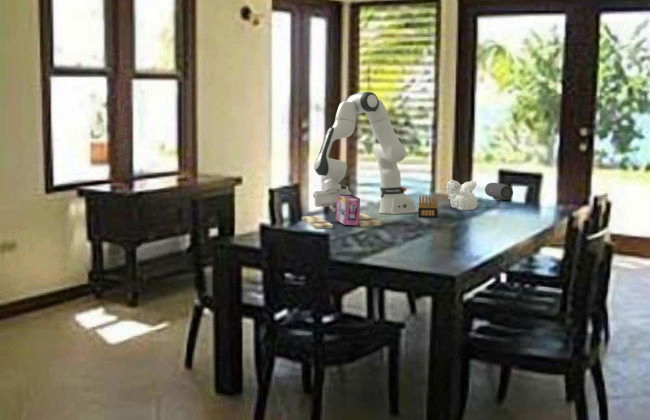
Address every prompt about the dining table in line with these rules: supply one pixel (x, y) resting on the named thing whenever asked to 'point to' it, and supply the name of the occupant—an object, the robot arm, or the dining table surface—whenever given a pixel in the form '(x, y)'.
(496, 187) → the bluetooth speaker
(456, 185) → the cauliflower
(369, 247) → the dining table surface
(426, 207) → the ammunition clip
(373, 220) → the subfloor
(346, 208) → the gum box
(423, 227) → the dining table surface
